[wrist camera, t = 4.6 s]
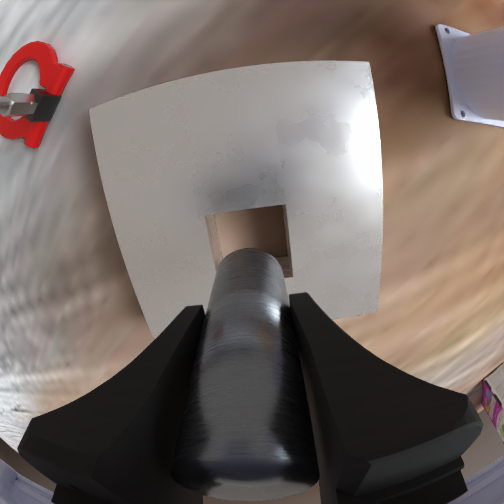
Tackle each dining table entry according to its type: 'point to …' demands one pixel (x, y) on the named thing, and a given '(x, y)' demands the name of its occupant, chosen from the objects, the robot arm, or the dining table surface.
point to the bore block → (247, 180)
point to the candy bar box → (495, 398)
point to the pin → (246, 391)
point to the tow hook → (32, 94)
